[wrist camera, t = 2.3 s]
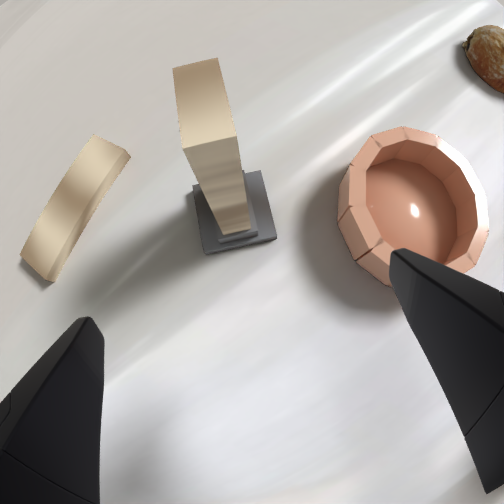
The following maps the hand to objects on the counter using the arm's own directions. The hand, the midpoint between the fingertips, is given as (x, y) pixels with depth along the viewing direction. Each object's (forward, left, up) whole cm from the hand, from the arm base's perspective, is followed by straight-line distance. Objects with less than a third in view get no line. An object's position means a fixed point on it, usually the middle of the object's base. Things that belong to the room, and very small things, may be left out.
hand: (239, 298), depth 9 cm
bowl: (+13, +2, -13) cm, 19 cm away
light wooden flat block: (-11, +13, -13) cm, 21 cm away
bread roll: (+38, +14, -13) cm, 43 cm away
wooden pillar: (+1, +7, -13) cm, 15 cm away
